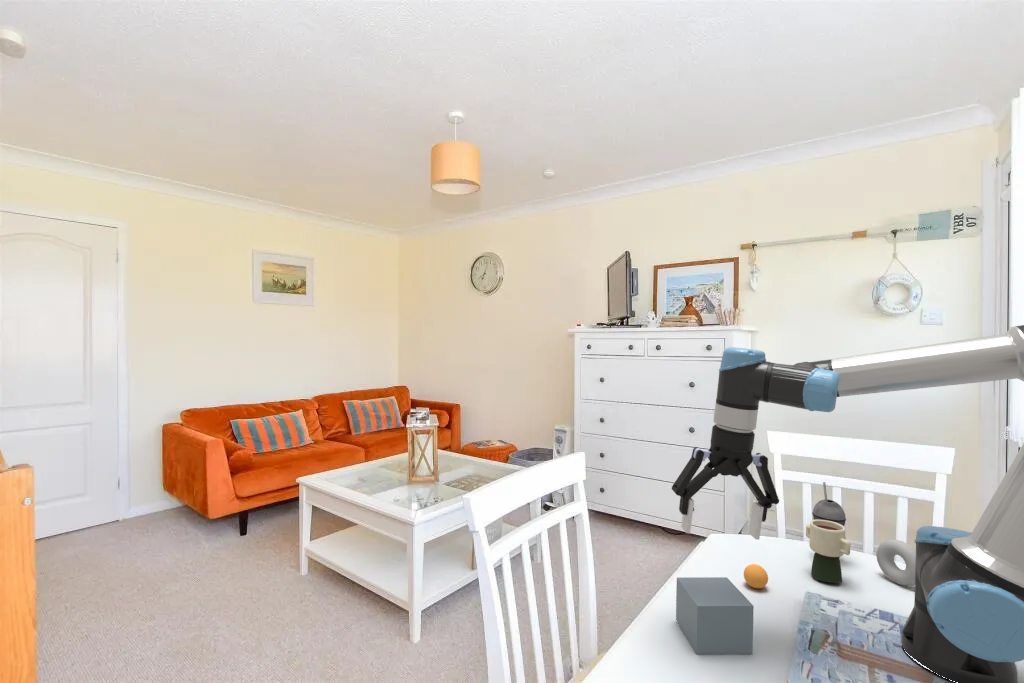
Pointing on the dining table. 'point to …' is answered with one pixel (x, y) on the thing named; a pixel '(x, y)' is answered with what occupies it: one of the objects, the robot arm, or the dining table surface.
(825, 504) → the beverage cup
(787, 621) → the dining table surface
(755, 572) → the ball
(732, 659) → the dining table surface
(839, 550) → the character mug
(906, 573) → the donut
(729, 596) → the grey rectangular box
